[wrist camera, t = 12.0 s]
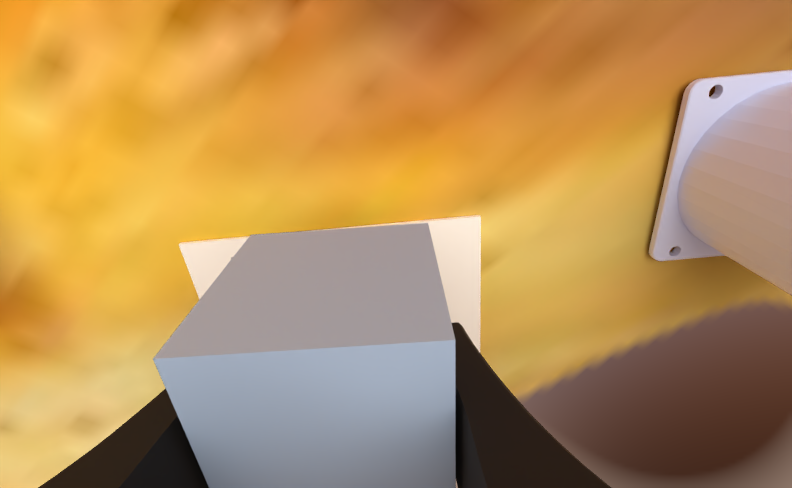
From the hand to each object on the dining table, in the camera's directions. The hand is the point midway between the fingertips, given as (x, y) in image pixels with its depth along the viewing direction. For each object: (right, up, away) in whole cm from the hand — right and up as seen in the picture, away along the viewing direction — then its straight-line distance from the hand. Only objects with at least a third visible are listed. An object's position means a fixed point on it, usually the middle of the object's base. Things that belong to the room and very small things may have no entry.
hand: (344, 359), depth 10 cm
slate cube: (0, +1, +1) cm, 2 cm away
